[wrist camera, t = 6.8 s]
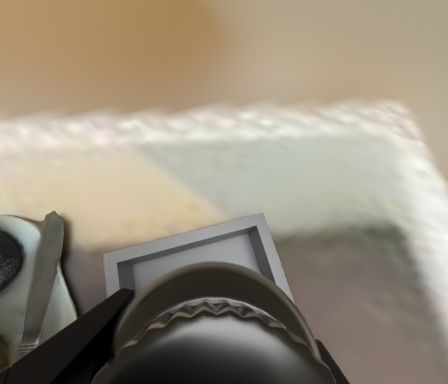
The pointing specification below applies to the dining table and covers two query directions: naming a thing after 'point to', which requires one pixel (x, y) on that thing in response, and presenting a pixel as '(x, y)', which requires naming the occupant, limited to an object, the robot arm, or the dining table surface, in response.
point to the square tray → (197, 254)
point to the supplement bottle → (210, 333)
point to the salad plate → (31, 285)
